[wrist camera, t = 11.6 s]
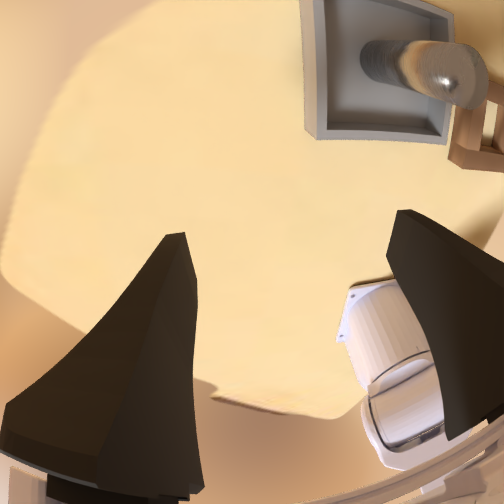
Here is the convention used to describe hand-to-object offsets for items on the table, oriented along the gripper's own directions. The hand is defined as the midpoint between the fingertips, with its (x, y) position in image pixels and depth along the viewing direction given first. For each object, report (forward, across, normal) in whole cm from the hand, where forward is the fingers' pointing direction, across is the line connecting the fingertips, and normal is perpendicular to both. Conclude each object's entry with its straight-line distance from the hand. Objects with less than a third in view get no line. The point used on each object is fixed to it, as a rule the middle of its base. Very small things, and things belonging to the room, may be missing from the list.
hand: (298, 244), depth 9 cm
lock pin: (+10, -8, -6) cm, 14 cm away
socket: (+10, -20, -3) cm, 23 cm away
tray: (+10, -8, -6) cm, 14 cm away
